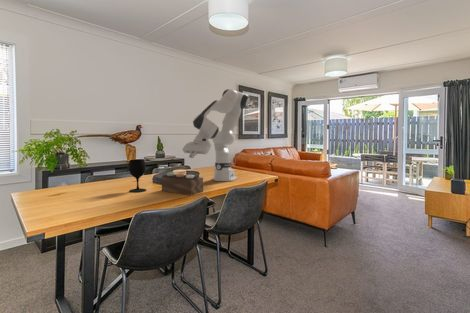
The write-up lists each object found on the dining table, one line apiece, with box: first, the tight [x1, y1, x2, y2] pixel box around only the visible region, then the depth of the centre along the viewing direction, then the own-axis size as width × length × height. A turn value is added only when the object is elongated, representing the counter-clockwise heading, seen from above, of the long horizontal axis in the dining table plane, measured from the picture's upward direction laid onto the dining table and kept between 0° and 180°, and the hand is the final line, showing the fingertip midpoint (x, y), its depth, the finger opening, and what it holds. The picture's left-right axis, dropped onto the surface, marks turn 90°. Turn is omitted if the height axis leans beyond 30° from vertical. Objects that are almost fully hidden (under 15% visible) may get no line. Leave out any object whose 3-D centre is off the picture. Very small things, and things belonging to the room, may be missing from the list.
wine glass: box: [128, 158, 147, 194], centre depth 168 cm, size 10×10×20 cm
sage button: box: [166, 172, 176, 176], centre depth 170 cm, size 5×5×2 cm
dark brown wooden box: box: [161, 174, 204, 196], centre depth 168 cm, size 12×24×10 cm, turn 61°
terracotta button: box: [175, 173, 185, 177], centre depth 166 cm, size 5×5×2 cm
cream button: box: [185, 174, 195, 179], centre depth 162 cm, size 5×5×2 cm
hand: (190, 157), depth 175 cm, fingers closed
